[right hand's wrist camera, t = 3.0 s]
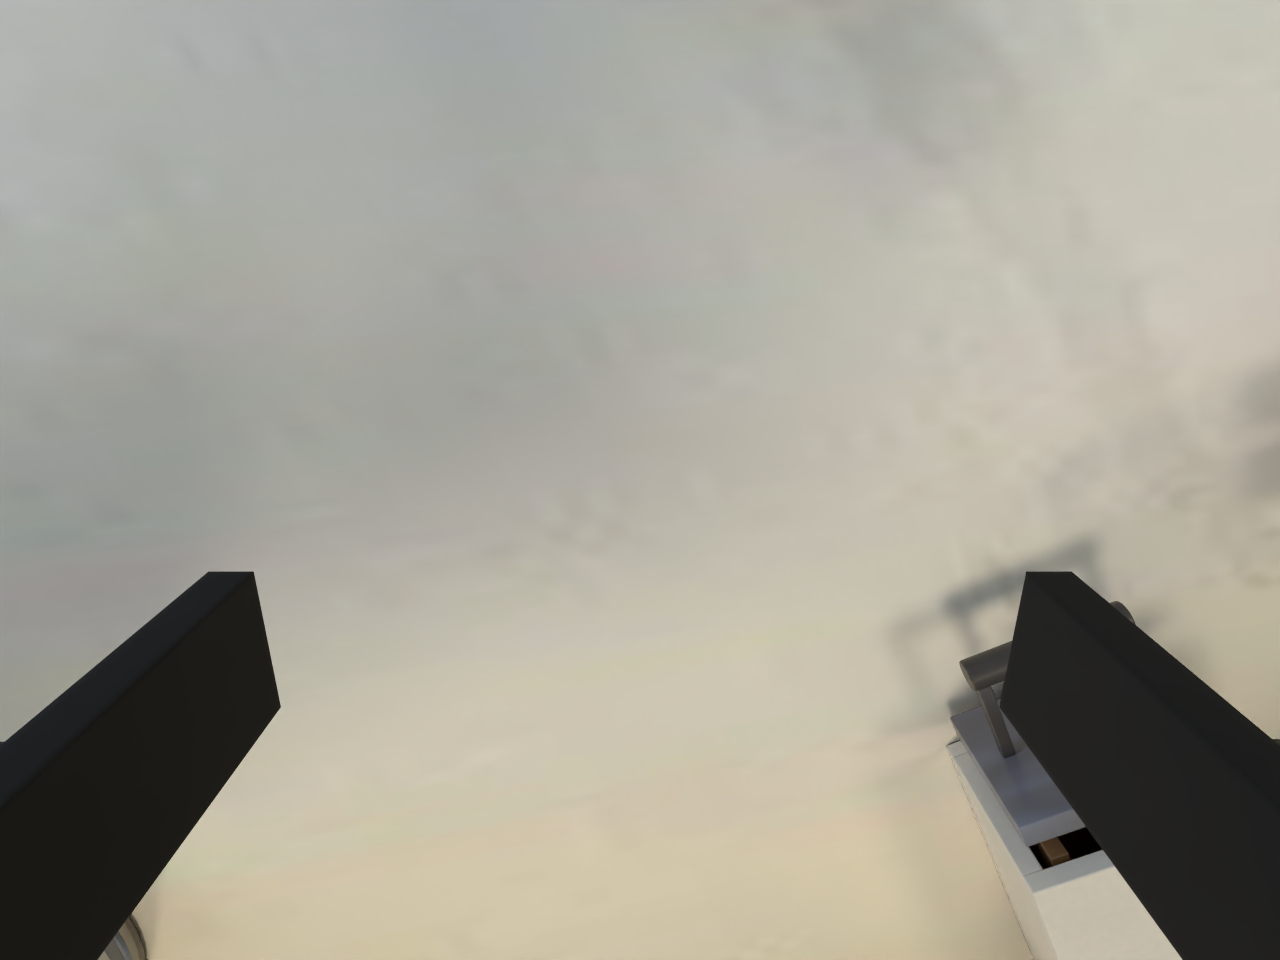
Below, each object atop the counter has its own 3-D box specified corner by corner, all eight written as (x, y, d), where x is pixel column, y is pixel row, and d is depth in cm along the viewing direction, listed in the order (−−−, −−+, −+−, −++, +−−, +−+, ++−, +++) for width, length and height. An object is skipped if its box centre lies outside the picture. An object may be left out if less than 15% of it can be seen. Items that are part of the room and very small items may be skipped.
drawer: (915, 631, 36) (980, 729, 29) (1097, 560, 35) (1210, 644, 28) (1030, 919, 43) (1106, 1054, 36) (1187, 867, 42) (1297, 998, 35)
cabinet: (946, 745, 40) (1032, 894, 31) (1135, 675, 38) (1282, 811, 30) (1029, 950, 45) (1124, 1126, 36) (1199, 895, 44) (1339, 1065, 35)
